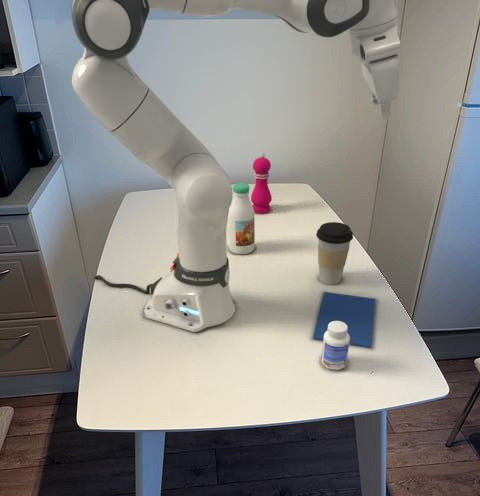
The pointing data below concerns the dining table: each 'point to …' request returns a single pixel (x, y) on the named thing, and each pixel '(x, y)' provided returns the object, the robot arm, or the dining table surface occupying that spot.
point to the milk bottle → (241, 221)
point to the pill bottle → (335, 346)
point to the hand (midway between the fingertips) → (381, 110)
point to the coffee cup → (333, 250)
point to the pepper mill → (261, 185)
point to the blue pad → (347, 317)
